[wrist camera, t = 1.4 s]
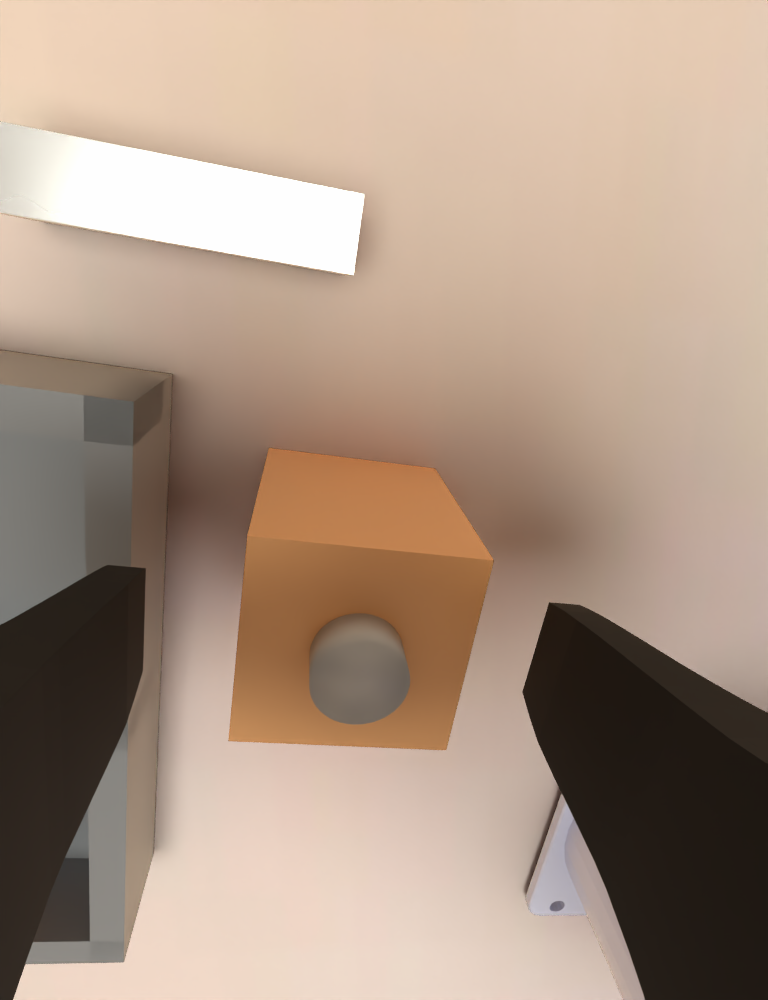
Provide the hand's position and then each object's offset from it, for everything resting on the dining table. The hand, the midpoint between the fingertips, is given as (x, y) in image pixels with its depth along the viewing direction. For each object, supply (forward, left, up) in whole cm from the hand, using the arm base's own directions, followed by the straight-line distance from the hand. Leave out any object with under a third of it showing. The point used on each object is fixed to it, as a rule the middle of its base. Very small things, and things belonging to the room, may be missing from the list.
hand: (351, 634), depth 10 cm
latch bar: (+4, -7, -4) cm, 9 cm away
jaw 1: (0, 0, -5) cm, 5 cm away
